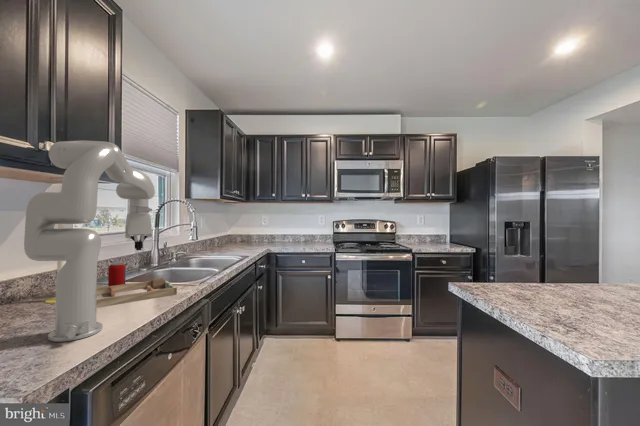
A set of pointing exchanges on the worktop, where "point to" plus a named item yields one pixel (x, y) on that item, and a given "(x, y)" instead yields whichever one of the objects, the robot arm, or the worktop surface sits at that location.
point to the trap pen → (136, 296)
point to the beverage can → (116, 274)
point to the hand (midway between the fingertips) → (138, 250)
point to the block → (158, 283)
